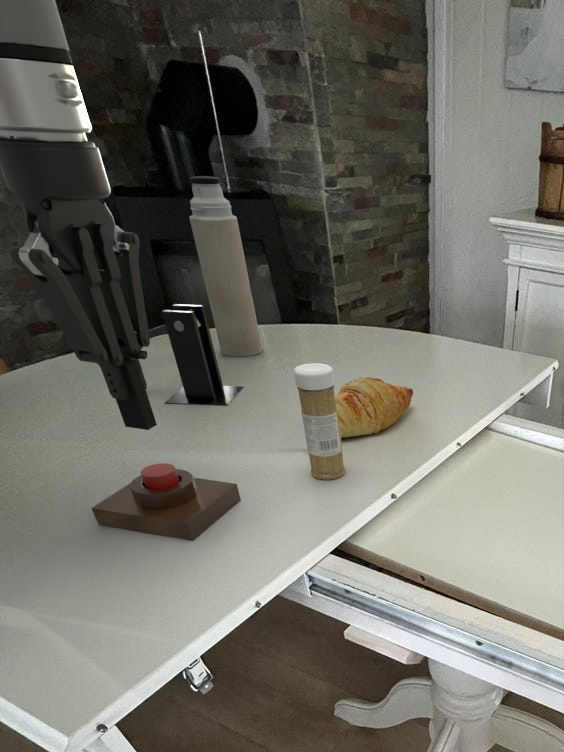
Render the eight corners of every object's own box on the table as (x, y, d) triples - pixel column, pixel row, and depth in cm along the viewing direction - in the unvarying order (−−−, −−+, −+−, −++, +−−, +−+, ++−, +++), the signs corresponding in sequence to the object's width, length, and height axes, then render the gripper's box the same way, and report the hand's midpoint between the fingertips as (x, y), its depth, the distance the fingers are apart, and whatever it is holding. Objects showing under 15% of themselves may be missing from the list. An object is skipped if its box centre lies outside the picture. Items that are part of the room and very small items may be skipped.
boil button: (138, 489, 66) (133, 474, 65) (159, 475, 69) (154, 461, 68) (167, 493, 65) (162, 478, 64) (186, 479, 68) (182, 465, 67)
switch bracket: (166, 410, 94) (136, 314, 85) (187, 391, 100) (161, 300, 91) (229, 412, 94) (206, 316, 85) (246, 393, 101) (226, 303, 92)
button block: (98, 525, 67) (84, 493, 64) (154, 487, 74) (143, 456, 71) (193, 541, 65) (182, 508, 62) (241, 500, 72) (233, 469, 70)
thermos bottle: (240, 343, 123) (203, 174, 105) (270, 349, 121) (238, 177, 103) (212, 352, 118) (168, 175, 99) (243, 358, 115) (204, 178, 97)
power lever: (123, 354, 90) (113, 338, 89) (138, 346, 94) (128, 330, 92) (193, 331, 88) (183, 314, 86) (204, 323, 92) (195, 306, 90)
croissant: (330, 471, 87) (341, 431, 80) (284, 425, 87) (291, 381, 81) (423, 427, 100) (439, 389, 93) (382, 387, 100) (395, 346, 94)
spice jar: (344, 465, 81) (331, 361, 72) (346, 480, 77) (333, 372, 69) (310, 467, 80) (293, 362, 71) (310, 482, 76) (292, 374, 68)
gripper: (17, 139, 42) (131, 455, 57) (137, 138, 52) (207, 409, 67) (-71, 132, 43) (65, 444, 59) (63, 133, 53) (149, 401, 68)
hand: (141, 425), depth 63 cm, fingers closed
